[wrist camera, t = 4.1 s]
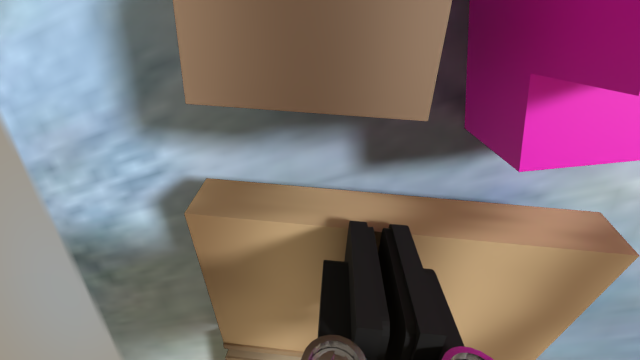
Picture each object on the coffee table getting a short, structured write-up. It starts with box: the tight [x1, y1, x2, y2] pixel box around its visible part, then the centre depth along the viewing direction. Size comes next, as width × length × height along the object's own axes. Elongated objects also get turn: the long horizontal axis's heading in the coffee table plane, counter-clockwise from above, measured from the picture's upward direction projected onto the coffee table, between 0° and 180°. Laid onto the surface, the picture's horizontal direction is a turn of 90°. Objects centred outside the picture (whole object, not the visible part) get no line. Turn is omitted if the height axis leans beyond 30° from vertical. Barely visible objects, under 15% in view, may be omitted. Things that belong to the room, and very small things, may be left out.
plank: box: [184, 178, 639, 360], centre depth 13 cm, size 14×9×2 cm, turn 87°
